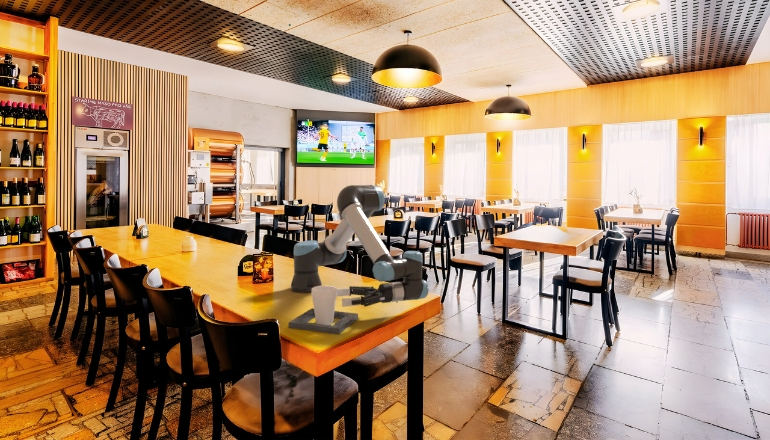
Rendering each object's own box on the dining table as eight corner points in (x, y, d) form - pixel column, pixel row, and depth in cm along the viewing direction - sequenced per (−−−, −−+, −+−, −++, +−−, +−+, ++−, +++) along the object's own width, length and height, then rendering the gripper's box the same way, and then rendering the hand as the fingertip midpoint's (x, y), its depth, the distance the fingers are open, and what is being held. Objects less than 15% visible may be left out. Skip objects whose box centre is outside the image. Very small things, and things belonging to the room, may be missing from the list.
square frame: (288, 327, 143) (288, 322, 143) (311, 313, 159) (311, 308, 159) (339, 334, 137) (339, 328, 137) (358, 318, 153) (358, 313, 153)
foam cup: (313, 318, 153) (312, 285, 151) (337, 318, 153) (337, 285, 152) (310, 327, 143) (310, 292, 142) (336, 327, 144) (336, 291, 143)
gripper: (402, 311, 145) (346, 318, 138) (379, 293, 168) (330, 298, 161) (403, 291, 144) (346, 296, 137) (379, 276, 168) (330, 280, 160)
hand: (337, 297), depth 149 cm, fingers open, 13 cm apart
